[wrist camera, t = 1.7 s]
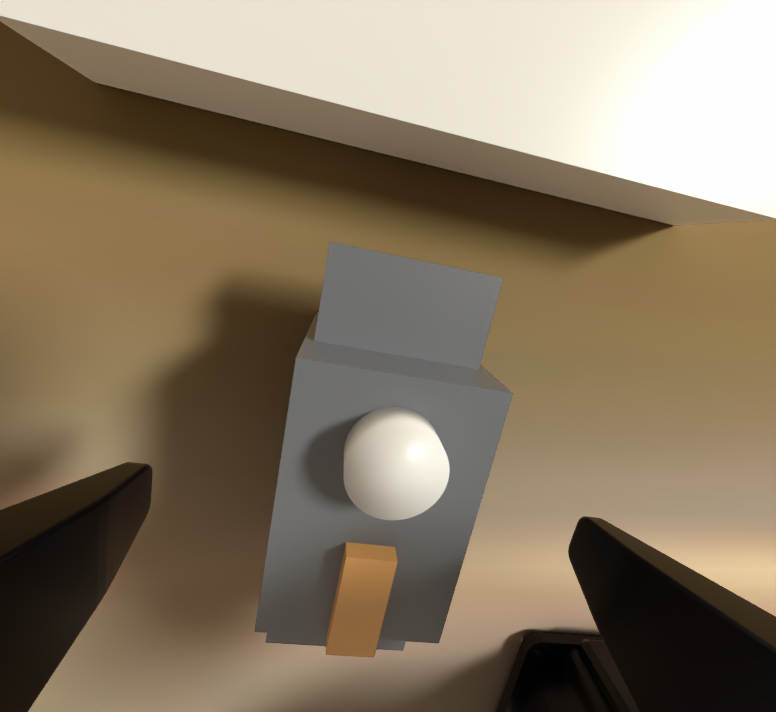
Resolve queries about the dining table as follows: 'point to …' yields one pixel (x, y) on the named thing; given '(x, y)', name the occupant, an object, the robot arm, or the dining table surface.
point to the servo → (382, 455)
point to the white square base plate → (471, 85)
